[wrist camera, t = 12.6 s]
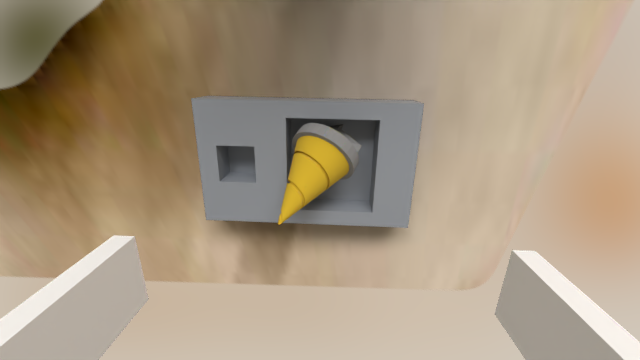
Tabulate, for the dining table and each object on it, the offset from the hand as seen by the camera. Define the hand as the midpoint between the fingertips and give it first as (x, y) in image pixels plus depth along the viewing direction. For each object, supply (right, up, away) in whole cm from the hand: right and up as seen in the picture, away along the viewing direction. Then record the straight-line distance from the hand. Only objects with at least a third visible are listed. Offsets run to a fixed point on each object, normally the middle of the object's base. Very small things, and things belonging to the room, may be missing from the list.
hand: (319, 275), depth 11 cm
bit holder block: (-1, +5, +15) cm, 16 cm away
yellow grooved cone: (0, +5, +15) cm, 16 cm away
